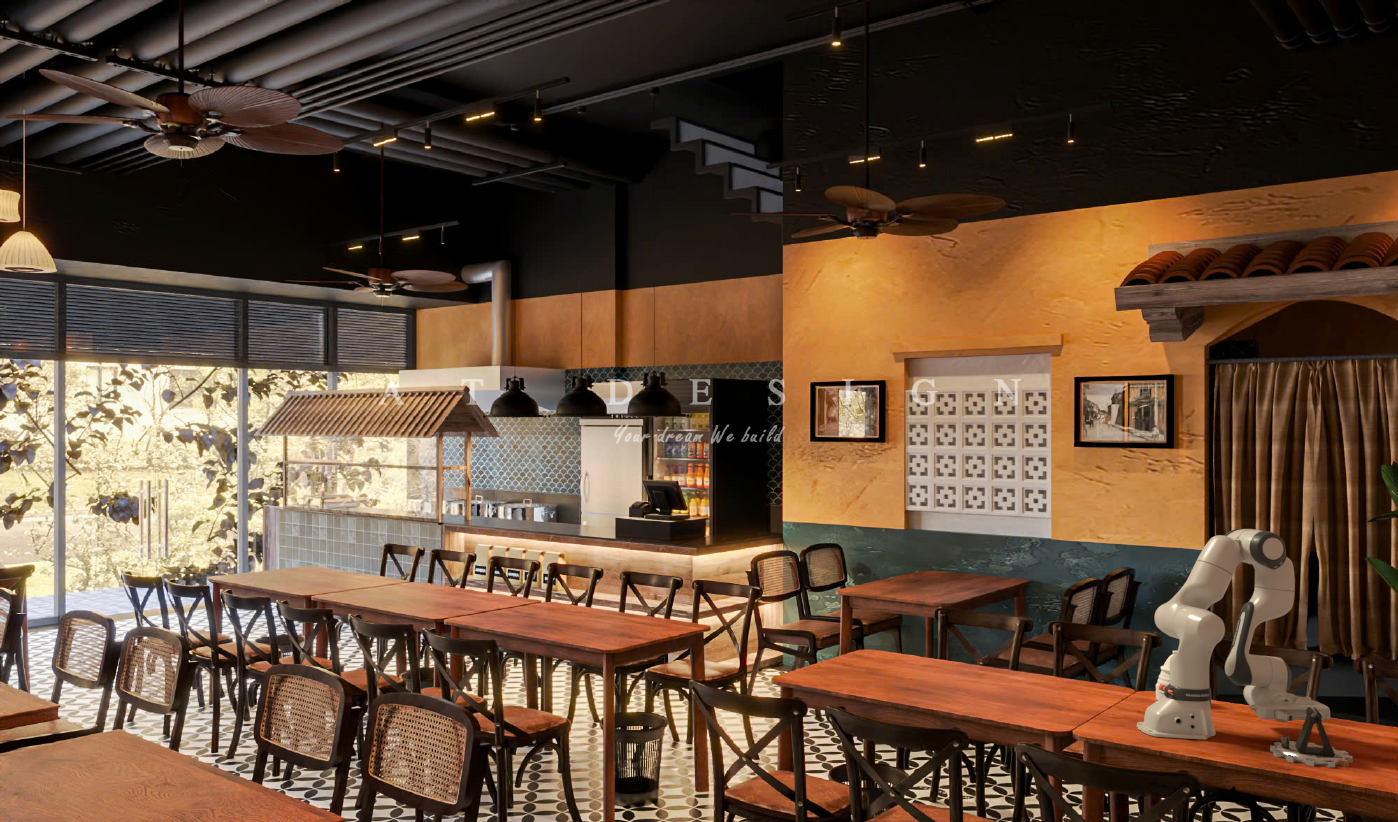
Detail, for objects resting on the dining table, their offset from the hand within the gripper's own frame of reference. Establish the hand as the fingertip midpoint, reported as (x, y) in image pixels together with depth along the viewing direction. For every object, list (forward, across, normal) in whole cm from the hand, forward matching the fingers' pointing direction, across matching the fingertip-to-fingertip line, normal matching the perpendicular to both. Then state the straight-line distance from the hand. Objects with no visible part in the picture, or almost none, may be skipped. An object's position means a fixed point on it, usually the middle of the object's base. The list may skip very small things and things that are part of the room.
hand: (1306, 718), depth 298 cm
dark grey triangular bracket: (+6, -1, +8) cm, 10 cm away
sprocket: (+6, -2, +10) cm, 11 cm away
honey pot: (-57, -13, +10) cm, 60 cm away
